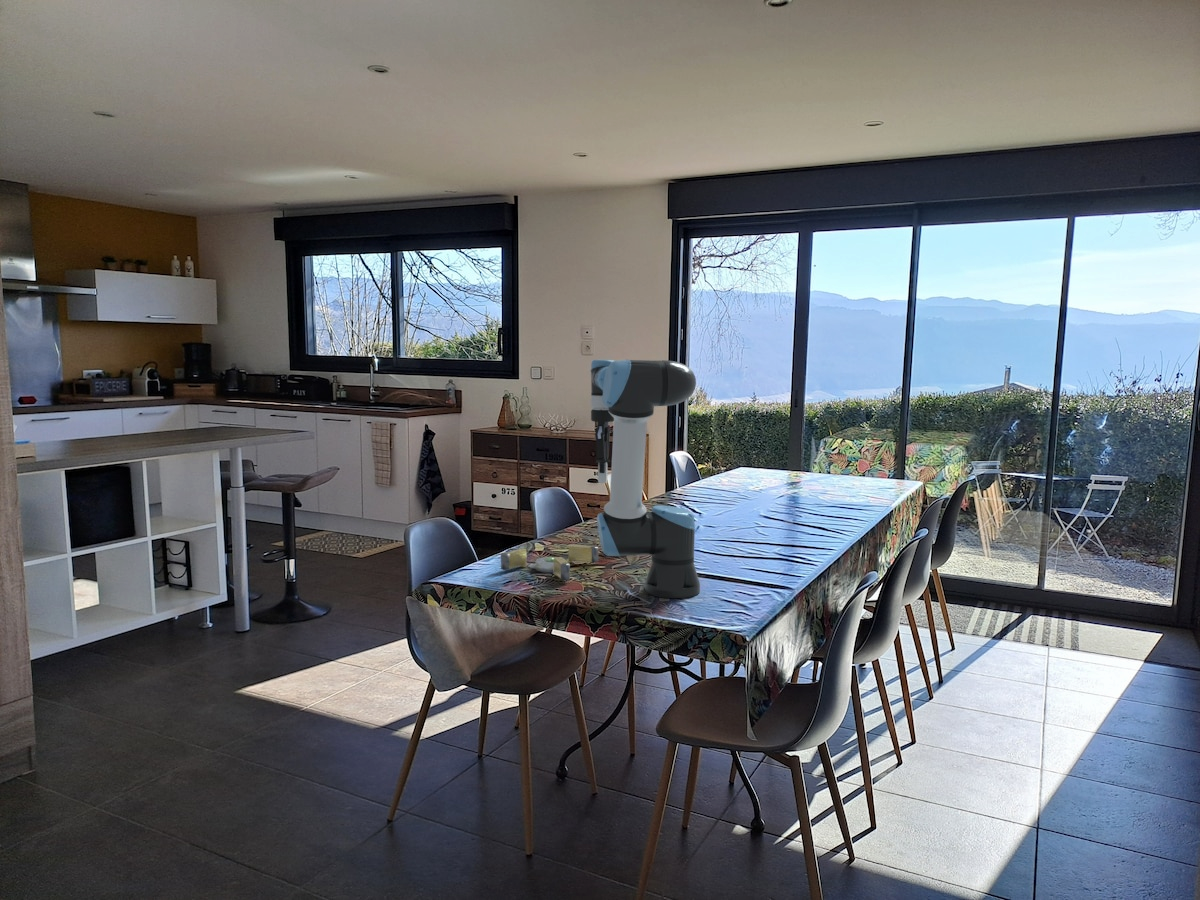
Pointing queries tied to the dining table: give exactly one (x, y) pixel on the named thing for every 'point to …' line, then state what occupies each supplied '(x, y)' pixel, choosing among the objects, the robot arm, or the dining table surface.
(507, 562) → the yellow and grey block
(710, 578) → the dining table surface
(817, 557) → the dining table surface
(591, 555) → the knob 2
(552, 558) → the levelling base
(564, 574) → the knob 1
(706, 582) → the dining table surface
